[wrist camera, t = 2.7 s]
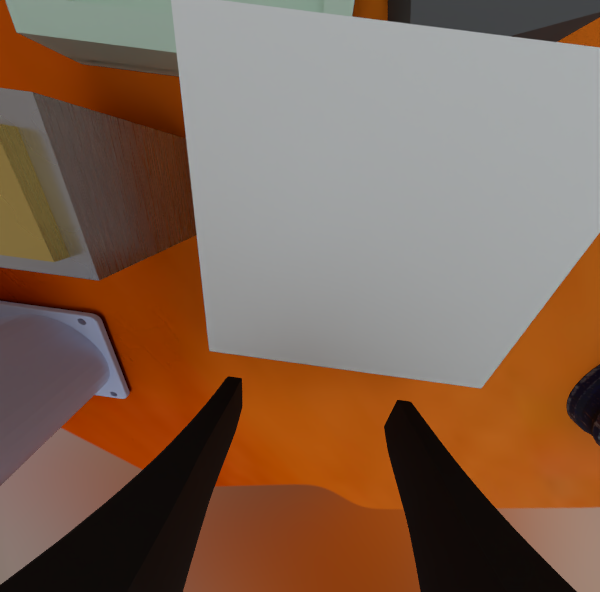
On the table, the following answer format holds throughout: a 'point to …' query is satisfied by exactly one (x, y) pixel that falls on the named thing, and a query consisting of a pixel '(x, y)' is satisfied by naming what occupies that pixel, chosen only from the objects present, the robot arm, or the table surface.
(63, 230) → the block
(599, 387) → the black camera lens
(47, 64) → the table surface
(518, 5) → the square block
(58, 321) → the robot arm
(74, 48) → the tray
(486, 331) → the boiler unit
